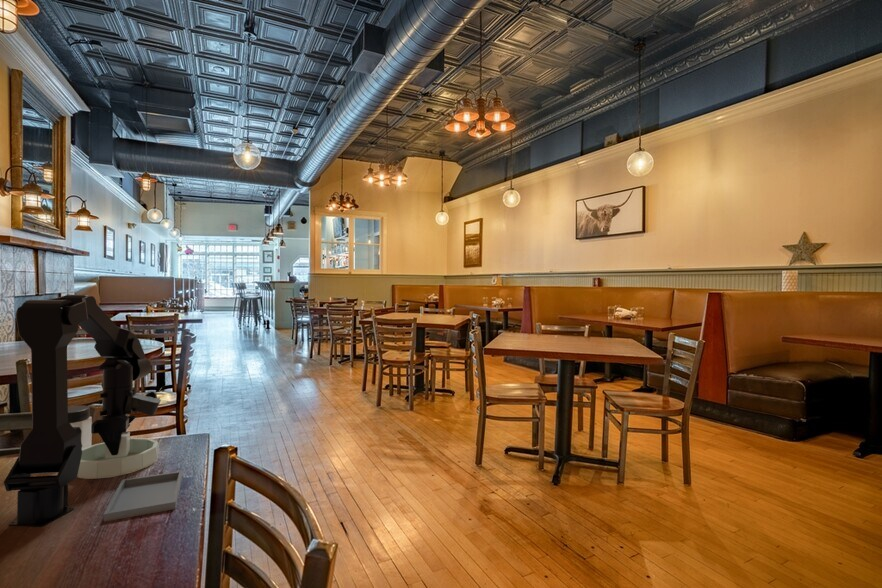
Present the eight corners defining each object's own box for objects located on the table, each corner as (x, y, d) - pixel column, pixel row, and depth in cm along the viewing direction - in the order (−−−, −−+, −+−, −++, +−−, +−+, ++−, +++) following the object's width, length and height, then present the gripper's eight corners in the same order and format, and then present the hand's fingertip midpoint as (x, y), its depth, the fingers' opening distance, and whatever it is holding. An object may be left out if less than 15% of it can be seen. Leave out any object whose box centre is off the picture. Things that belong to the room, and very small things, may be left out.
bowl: (122, 481, 95) (122, 463, 95) (53, 478, 96) (53, 460, 96) (171, 454, 111) (172, 439, 111) (112, 452, 112) (112, 437, 112)
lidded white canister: (44, 467, 102) (45, 416, 102) (43, 457, 108) (44, 409, 108) (93, 457, 109) (93, 409, 109) (89, 449, 115) (90, 403, 115)
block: (126, 455, 103) (126, 436, 103) (105, 458, 101) (105, 438, 101) (129, 450, 106) (129, 431, 106) (109, 452, 104) (109, 433, 104)
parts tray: (175, 510, 83) (175, 501, 83) (103, 523, 78) (103, 514, 78) (182, 478, 97) (182, 470, 97) (122, 487, 92) (122, 479, 92)
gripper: (152, 391, 99) (151, 460, 99) (162, 376, 116) (161, 435, 115) (91, 395, 94) (89, 468, 94) (110, 380, 111) (109, 441, 110)
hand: (116, 451), depth 103 cm, fingers closed on block, 4 cm apart
